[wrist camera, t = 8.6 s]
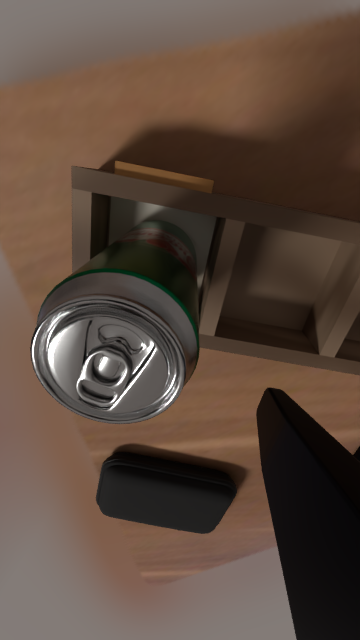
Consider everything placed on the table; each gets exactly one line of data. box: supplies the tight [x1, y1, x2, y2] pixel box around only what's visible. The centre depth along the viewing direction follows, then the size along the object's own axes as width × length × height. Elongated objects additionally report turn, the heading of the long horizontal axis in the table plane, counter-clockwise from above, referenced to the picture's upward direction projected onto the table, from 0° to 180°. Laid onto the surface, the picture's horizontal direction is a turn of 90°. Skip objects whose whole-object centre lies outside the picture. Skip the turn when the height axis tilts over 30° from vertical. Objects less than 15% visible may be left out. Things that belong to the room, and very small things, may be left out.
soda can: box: [30, 220, 200, 424], centre depth 13 cm, size 5×5×12 cm
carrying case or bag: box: [96, 452, 237, 534], centre depth 30 cm, size 11×3×15 cm
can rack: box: [72, 161, 360, 375], centre depth 17 cm, size 10×25×4 cm, turn 80°
